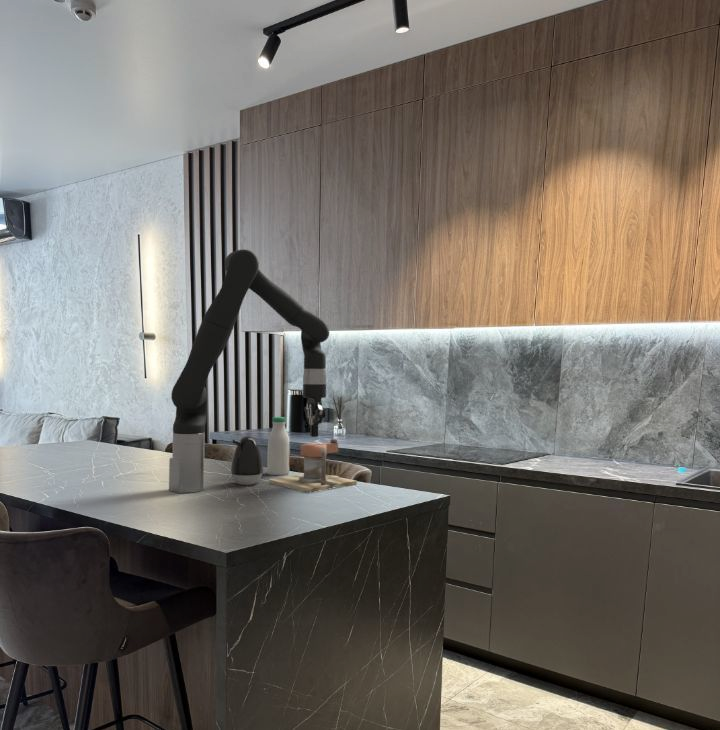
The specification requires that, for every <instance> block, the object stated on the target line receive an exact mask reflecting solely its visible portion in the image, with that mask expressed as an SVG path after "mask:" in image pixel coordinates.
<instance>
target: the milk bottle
mask: <svg viewBox="0 0 720 730" xmlns="http://www.w3.org/2000/svg"><path fill="white" fill-rule="evenodd" d="M286 421H287V420H286V417H284V416H273V417H272V425H273V426H272V429H271V431H270V433H269V435H268V438H267V439H268V440H267V460H266V463H267V466H266V468H267V469H266V473H267V475H269V476H286V475H289V474H290V458H291V457H290V451H291V449H290V448H291V446H290V437H289V434H288V432H287V429H286Z"/></svg>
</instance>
